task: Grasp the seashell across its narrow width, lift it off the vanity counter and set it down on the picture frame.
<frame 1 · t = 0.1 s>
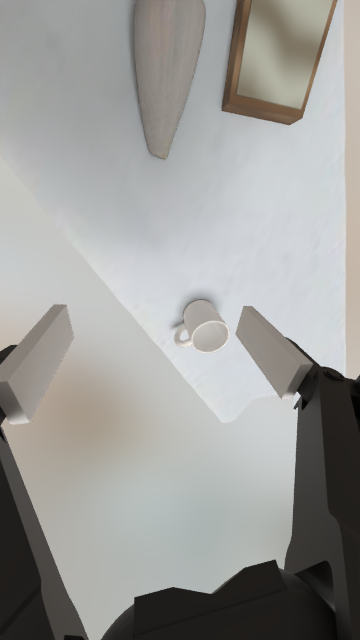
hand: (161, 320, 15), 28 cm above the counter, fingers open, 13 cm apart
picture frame: (271, 49, 27), on the counter
mug: (192, 316, 48), on the counter
seashell: (164, 81, 27), on the counter
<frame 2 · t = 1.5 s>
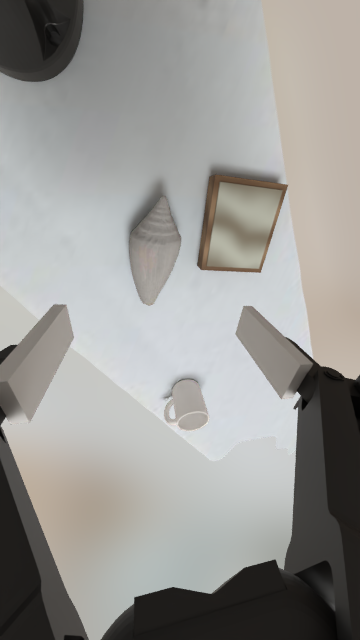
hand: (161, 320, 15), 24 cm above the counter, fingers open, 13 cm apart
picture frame: (234, 228, 35), on the counter
mug: (179, 390, 56), on the counter
seashell: (152, 257, 35), on the counter
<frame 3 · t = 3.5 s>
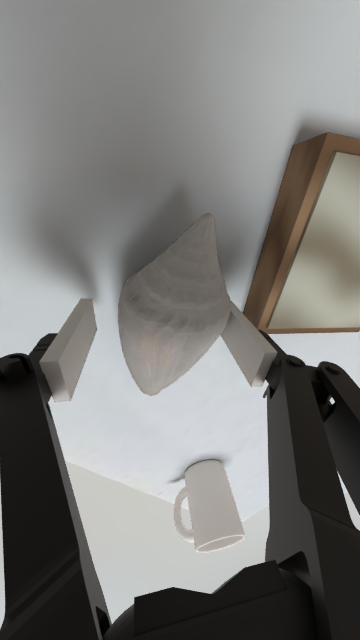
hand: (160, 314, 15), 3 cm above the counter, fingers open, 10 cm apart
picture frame: (319, 254, 18), on the counter
mug: (195, 471, 39), on the counter
seashell: (163, 317, 19), on the counter, touching gripper
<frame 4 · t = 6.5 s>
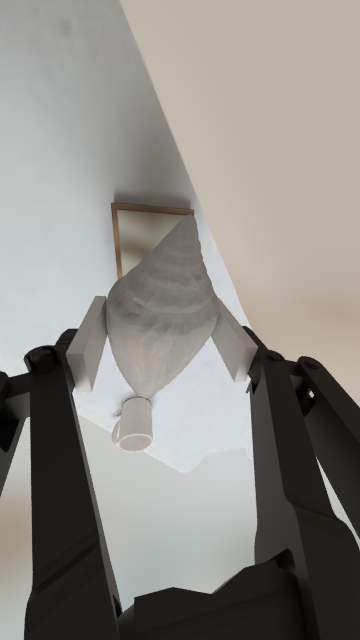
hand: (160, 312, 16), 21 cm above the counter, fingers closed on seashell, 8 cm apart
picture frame: (153, 252, 34), on the counter
mug: (131, 407, 55), on the counter
seashell: (155, 319, 19), point 19 cm above the counter, touching gripper
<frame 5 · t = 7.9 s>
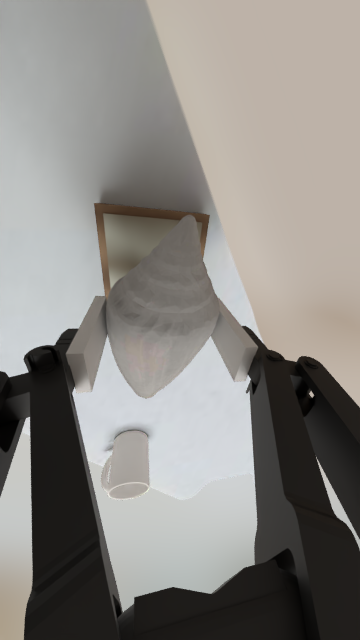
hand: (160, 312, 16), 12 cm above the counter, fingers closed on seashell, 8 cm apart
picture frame: (152, 267, 26), on the counter
mug: (125, 440, 48), on the counter
seashell: (155, 319, 19), point 10 cm above the counter, touching gripper
when the fingers open (7 cm above the counter, at t = 9.2 s): seashell drops 1 cm, resting on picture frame.
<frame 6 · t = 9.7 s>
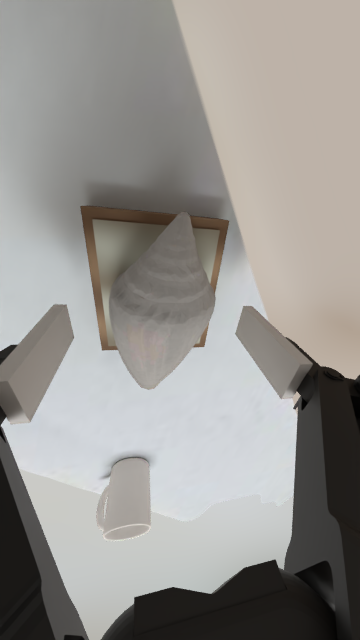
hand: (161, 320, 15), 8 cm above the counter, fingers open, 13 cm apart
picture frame: (155, 283, 21), on the counter
mug: (123, 468, 43), on the counter
seashell: (155, 313, 20), point 3 cm above the counter, touching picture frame
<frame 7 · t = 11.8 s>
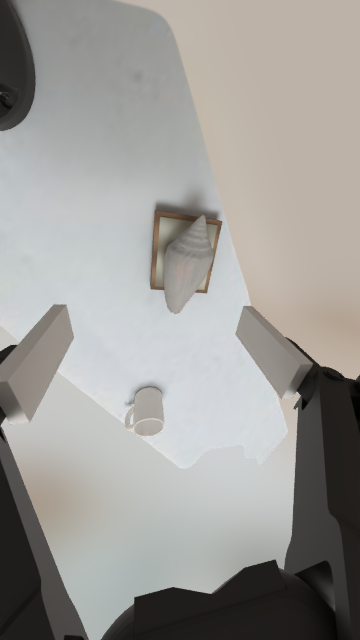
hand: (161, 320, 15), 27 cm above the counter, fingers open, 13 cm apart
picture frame: (181, 253, 39), on the counter
mug: (143, 397, 59), on the counter
seashell: (182, 268, 37), point 3 cm above the counter, touching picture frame
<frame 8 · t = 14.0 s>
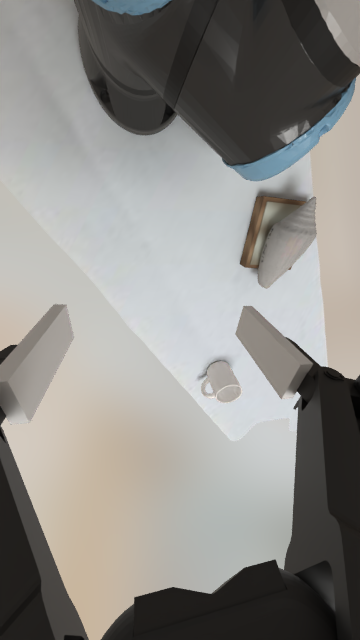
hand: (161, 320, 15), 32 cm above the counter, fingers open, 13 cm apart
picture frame: (271, 235, 44), on the counter
mug: (212, 371, 66), on the counter
seashell: (274, 247, 43), point 3 cm above the counter, touching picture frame
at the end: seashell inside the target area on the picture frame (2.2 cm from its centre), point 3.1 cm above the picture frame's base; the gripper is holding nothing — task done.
